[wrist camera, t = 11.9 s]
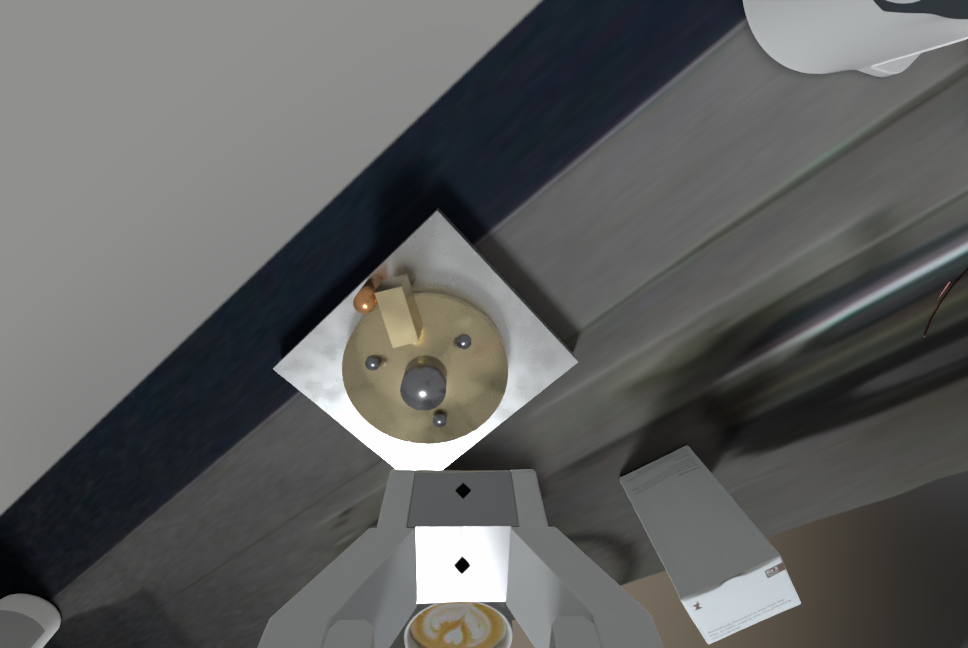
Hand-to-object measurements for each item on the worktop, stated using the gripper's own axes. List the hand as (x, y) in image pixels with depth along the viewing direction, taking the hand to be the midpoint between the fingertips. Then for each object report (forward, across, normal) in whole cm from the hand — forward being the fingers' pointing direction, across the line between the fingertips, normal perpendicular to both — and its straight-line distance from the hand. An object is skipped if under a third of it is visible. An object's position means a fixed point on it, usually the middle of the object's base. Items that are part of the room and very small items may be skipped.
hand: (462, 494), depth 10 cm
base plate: (+31, +3, +11) cm, 33 cm away
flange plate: (+29, +3, +10) cm, 31 cm away
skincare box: (+31, -22, +25) cm, 46 cm away
